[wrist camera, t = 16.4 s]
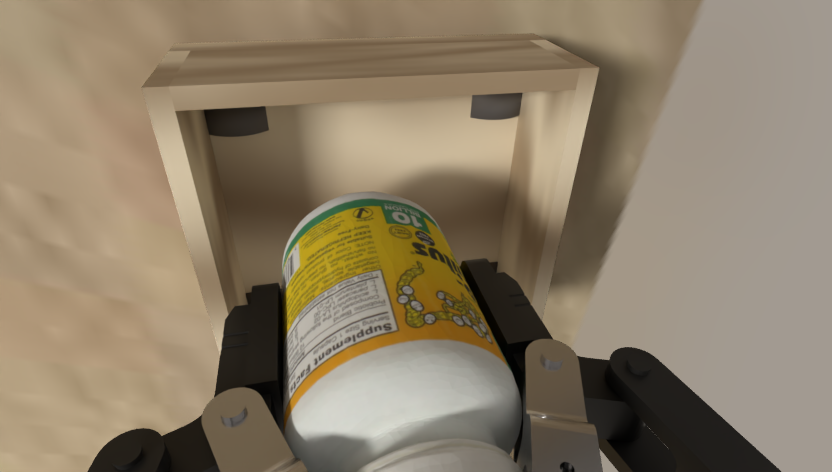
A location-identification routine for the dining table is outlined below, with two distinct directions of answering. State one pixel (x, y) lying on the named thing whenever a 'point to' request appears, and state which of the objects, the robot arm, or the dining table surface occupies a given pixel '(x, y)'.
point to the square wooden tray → (369, 146)
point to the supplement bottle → (389, 347)
